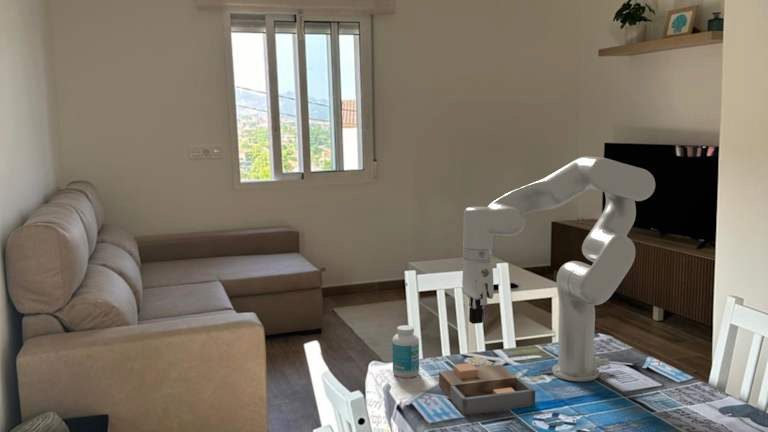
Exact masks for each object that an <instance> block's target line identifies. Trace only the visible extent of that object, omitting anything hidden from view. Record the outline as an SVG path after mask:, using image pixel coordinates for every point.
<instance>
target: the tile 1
mask: <svg viewBox="0 0 768 432" xmlns="http://www.w3.org/2000/svg"><path fill="white" fill-rule="evenodd" d="M476 367H477V366H475V365H474V364H473V363H471V362H467V363H460V364H459V363H458V364H453V369H452V370H453V372H454V373H455V374H456V375H457V376H458V377H459V378H460V379H463V378H472V377H478V369H477V368H476Z"/></svg>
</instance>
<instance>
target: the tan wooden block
mask: <svg viewBox="0 0 768 432" xmlns="http://www.w3.org/2000/svg"><path fill="white" fill-rule="evenodd" d="M475 367H476V368H477V369H478V377H472V378H463V379H460V378H459V377H458V376H457V375H456V374H455V373H454V372H453V369H449V370H440V371H438V386H439V388H440V389H441V390H442V391H443V392H444V394H446V395H447V396H448V398H449V399H450V386H455V387H456V388H457V389H458V390H459V391H460V392H461V393H462V394H463V395H464V396H465V397H468V396H476V395H484V394H492V393H493V390H494V389H502V388H512V389H513V390H516V378H518V377H517V376H516V375H515V374H513V373H512V372H511V371H510V370H509V369H507V368H506V366H504V364H493V365H492V364H491V365H485V366H484V365H483V366H475Z"/></svg>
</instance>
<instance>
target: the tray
mask: <svg viewBox="0 0 768 432" xmlns="http://www.w3.org/2000/svg"><path fill="white" fill-rule="evenodd" d="M449 400H450V402H451V403H452V404H453V406H454V407H455V408H456V409H457V410H458V412H459V413H461V415H462V416H469V415H470V416H471V415H477V414H485V413H492V412H501V411H507V410H514V409H516V410H517V409H522V408H523V409H524V408H529V407H535V406H536V390H535V389H534V388H533V387H532V386H531V385H529V384H528V383H527V382H525V381H524V380H523V379H522V378H521V377H517V378H516V390H515V391H514V392H507V393H499V394H493V393H492V394H484V395H476V396H468V397H465V396H464V395H463V394H462V393H461V392H460V391H459V390H458V389H457V388H456V387H455V386H450V398H449Z"/></svg>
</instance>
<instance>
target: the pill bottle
mask: <svg viewBox="0 0 768 432" xmlns="http://www.w3.org/2000/svg"><path fill="white" fill-rule="evenodd" d="M396 332H397V333H396V334H395V335H394V336H393V337H392V373H393V375H394V376H396V377H398V378H404V379H407V378H408V379H409V378H413V377H416V376H418V375H419V373H420V341H419V340H420V338H419V337H418V335H416V334H415V333H414V332H415V327H414V326H412V325H405V324H404V325H399V326H397V328H396Z"/></svg>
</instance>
